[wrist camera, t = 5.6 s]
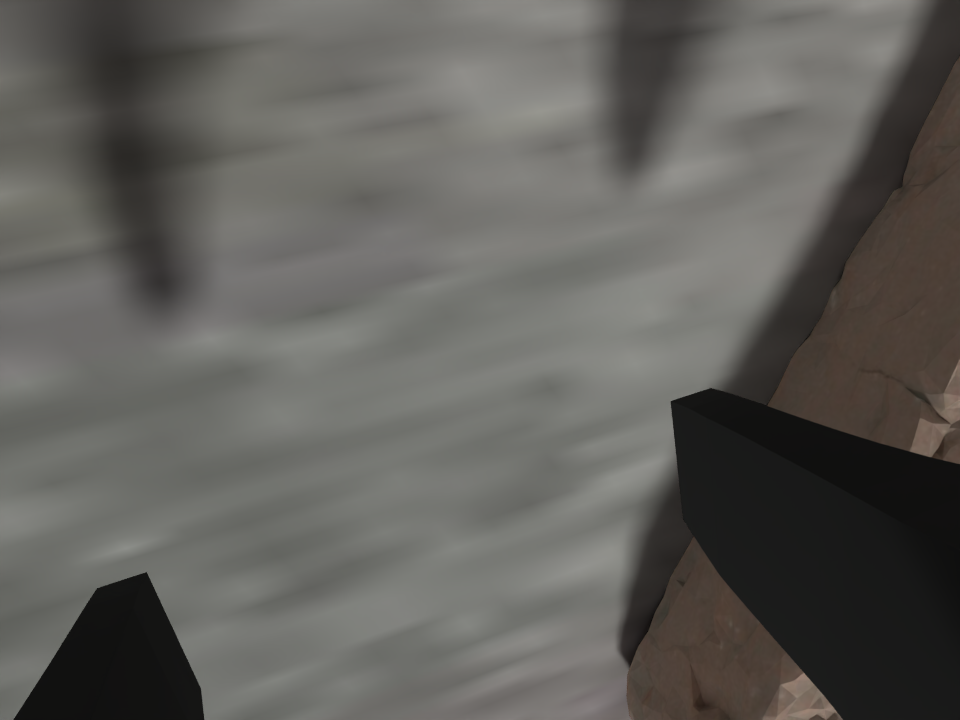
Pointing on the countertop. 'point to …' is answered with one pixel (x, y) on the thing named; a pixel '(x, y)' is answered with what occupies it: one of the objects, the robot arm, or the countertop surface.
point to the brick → (839, 405)
